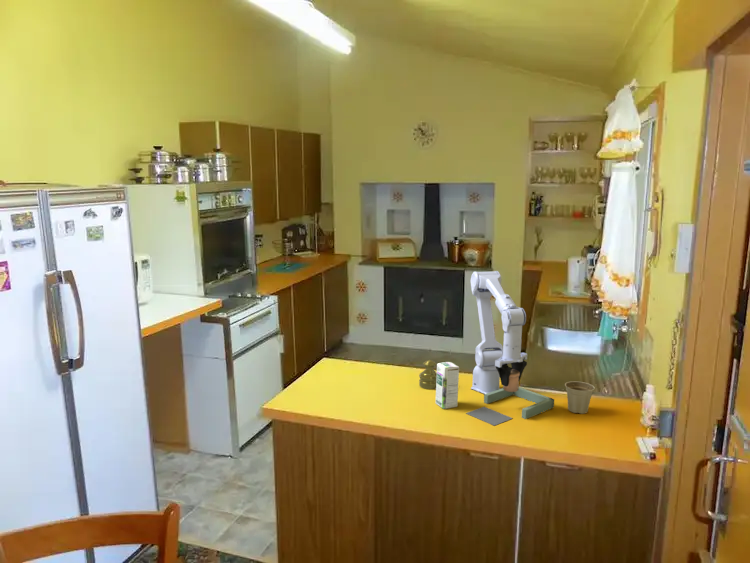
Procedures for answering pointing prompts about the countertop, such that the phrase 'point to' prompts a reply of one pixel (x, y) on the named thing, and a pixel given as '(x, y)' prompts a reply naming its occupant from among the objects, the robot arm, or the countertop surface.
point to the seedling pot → (513, 381)
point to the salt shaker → (428, 376)
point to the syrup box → (447, 385)
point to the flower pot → (578, 396)
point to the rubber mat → (489, 416)
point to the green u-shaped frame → (540, 400)
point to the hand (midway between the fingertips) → (510, 383)
